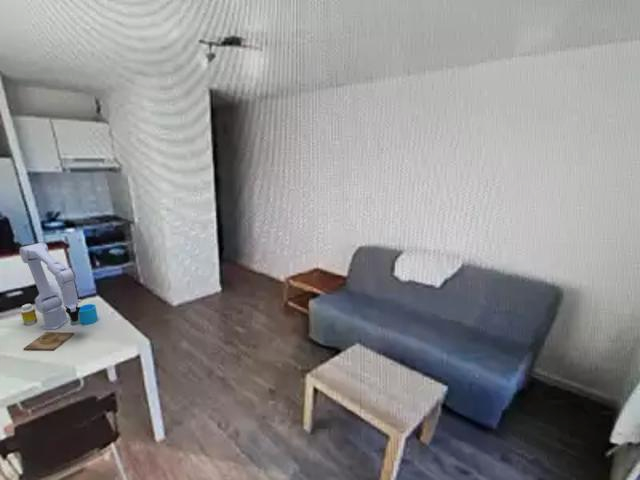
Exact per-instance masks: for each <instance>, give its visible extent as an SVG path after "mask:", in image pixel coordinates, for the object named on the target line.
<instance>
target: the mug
mask: <svg viewBox="0 0 640 480" xmlns="http://www.w3.org/2000/svg"><path fill="white" fill-rule="evenodd" d="M79 307H80V310H79V317H80V321H81V323H80V324H79V325H81V326H88V325H89V326H90V325H93V324H95V323H97V322H98V320H99V318H98V314H97V313H98V312H97V307H96V305H95V304H93V303H89V304H88V303H87V304H83V305H81V306H79Z"/></svg>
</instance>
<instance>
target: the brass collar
mask: <svg viewBox="0 0 640 480" xmlns="http://www.w3.org/2000/svg"><path fill="white" fill-rule="evenodd" d="M42 335H43V334H42ZM39 337H40V336H39ZM50 337H53V338H51V339H47V338H50ZM45 339H47V340H45ZM56 340H58V334H57V333H48V334H45V335H43V336H42V337H40V343H41V344H50V343H53V342H55V341H56Z"/></svg>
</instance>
